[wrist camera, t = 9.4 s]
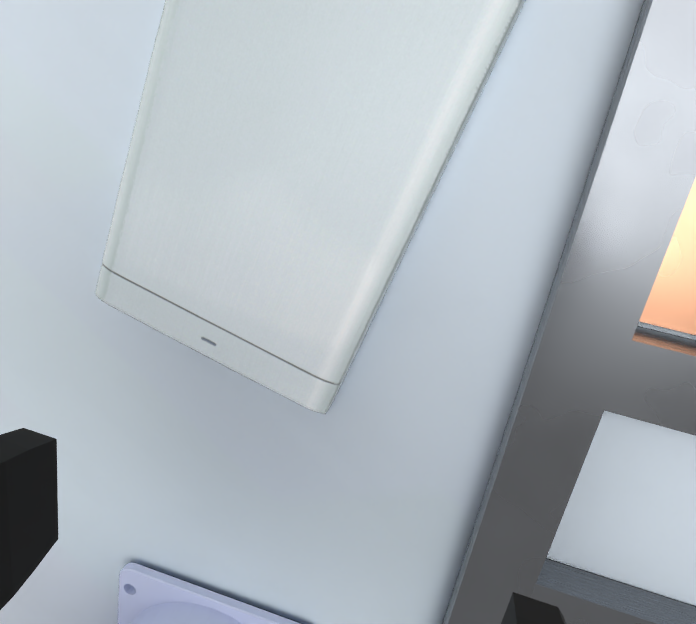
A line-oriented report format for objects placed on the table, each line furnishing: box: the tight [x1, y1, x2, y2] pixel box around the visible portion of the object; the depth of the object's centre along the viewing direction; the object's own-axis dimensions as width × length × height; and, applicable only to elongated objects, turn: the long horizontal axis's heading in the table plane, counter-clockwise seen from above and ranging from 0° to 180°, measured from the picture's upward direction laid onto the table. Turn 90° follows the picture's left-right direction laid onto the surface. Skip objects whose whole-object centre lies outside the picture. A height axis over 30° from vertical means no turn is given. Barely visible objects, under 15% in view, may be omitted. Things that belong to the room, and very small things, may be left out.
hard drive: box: [95, 0, 525, 414], centre depth 17 cm, size 2×8×12 cm
